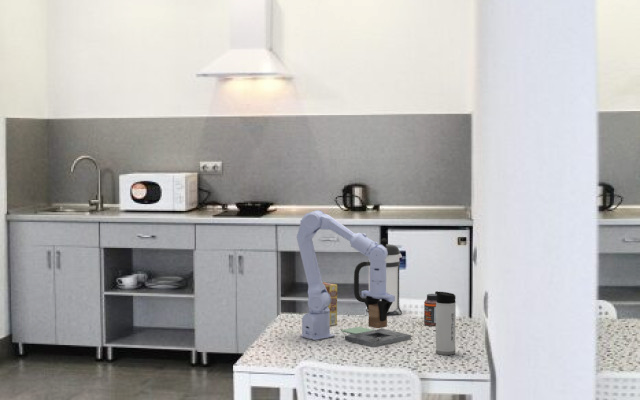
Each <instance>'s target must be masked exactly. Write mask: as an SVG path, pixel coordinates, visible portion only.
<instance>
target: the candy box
mask: <svg viewBox="0 0 640 400" xmlns="http://www.w3.org/2000/svg"><path fill="white" fill-rule="evenodd" d="M322 282H323V284H324V285H325V287H326V290H327V292H328V293H329V294H330V296H331V303H330V304H329V306H328V308H329V309H330V327H331V326H337V325H338V284H335V283H331V282H330V283H329V282H325V281H322Z"/></svg>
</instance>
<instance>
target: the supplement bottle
mask: <svg viewBox="0 0 640 400" xmlns="http://www.w3.org/2000/svg"><path fill="white" fill-rule="evenodd" d="M436 296H437V294H435V293H428V294H426V299H425V300H424V301H423V303H424V304H423V305H424V306H423V308H424V309H423V323H424V325H426V326H429V325H431V327H436V326H435V325H436V300H437V299H436Z"/></svg>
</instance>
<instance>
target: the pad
mask: <svg viewBox="0 0 640 400" xmlns="http://www.w3.org/2000/svg"><path fill="white" fill-rule="evenodd" d="M372 330H373V329H371V328H368V327H362V326H357V327H356V326H355V327H350V328H346V329H341V330H340V332H343V333H347V334H350V335H351V334H357V333H362V332H367V331H372Z"/></svg>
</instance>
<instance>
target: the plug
mask: <svg viewBox="0 0 640 400" xmlns="http://www.w3.org/2000/svg"><path fill="white" fill-rule="evenodd" d="M368 327H370V328H373V329H384V328H387V327H388V316H387V317H386V321H380V313H379V307H378V304H371V305H369V312H368Z"/></svg>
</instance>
